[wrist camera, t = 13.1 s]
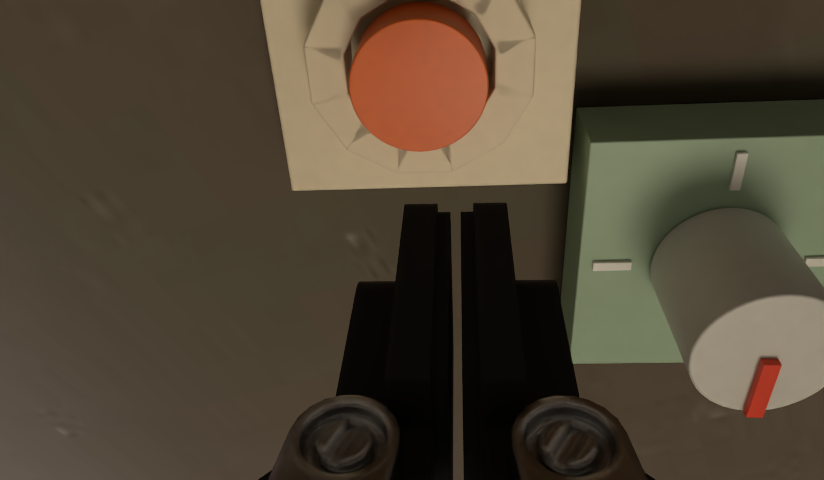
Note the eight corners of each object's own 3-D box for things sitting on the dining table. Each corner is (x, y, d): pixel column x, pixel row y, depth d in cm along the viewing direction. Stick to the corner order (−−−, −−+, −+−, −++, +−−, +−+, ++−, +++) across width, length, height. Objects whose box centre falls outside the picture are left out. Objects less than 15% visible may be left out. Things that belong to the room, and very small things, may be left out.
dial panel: (857, 97, 25) (906, 134, 22) (790, 313, 31) (822, 363, 28) (576, 107, 26) (591, 144, 23) (559, 317, 31) (569, 366, 29)
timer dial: (661, 206, 24) (709, 301, 20) (802, 206, 24) (882, 302, 20) (640, 313, 27) (678, 417, 23) (766, 314, 27) (830, 419, 22)
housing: (579, -138, 21) (604, -123, 18) (558, 156, 27) (575, 209, 24) (257, -120, 22) (224, -102, 19) (301, 164, 27) (282, 217, 24)
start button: (486, -2, 20) (489, 15, 19) (485, 126, 22) (488, 150, 21) (348, 3, 20) (341, 21, 19) (361, 130, 23) (355, 154, 21)
